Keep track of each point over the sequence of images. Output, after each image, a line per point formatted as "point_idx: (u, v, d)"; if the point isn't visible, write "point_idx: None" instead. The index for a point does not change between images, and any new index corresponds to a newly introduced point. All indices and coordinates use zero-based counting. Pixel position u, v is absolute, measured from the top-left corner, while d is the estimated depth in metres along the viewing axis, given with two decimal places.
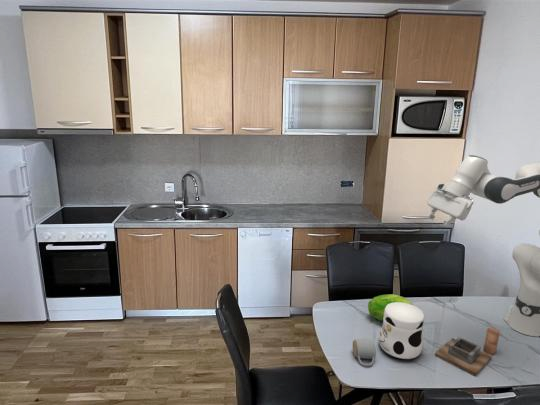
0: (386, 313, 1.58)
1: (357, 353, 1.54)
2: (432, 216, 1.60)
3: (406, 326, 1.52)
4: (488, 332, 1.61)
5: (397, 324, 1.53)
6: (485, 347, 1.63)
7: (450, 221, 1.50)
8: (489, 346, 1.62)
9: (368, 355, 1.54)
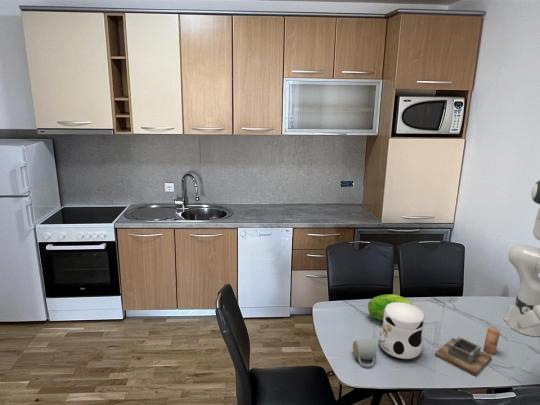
0: (386, 313, 1.58)
1: (357, 354, 1.54)
2: None
3: (406, 326, 1.52)
4: (488, 332, 1.61)
5: (397, 324, 1.53)
6: (485, 347, 1.63)
7: None
8: (489, 346, 1.62)
9: (368, 356, 1.54)
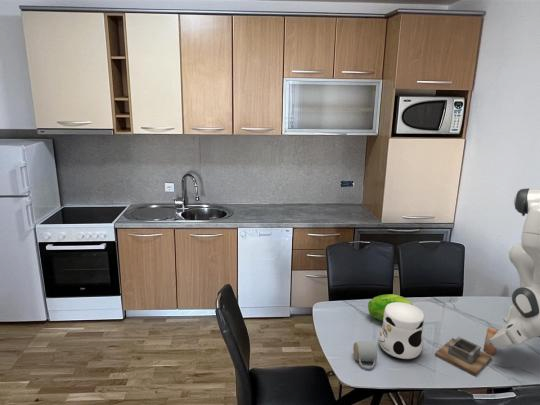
0: (386, 313, 1.58)
1: (358, 356, 1.53)
2: None
3: (406, 326, 1.52)
4: (488, 332, 1.61)
5: (397, 324, 1.53)
6: (485, 347, 1.63)
7: None
8: (489, 346, 1.62)
9: (369, 358, 1.52)
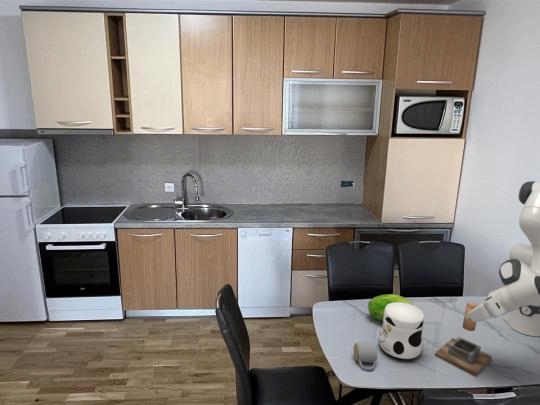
0: (386, 313, 1.58)
1: (358, 357, 1.52)
2: None
3: (406, 326, 1.52)
4: (467, 307, 1.53)
5: (397, 324, 1.53)
6: (464, 323, 1.55)
7: None
8: (468, 322, 1.53)
9: (369, 359, 1.52)
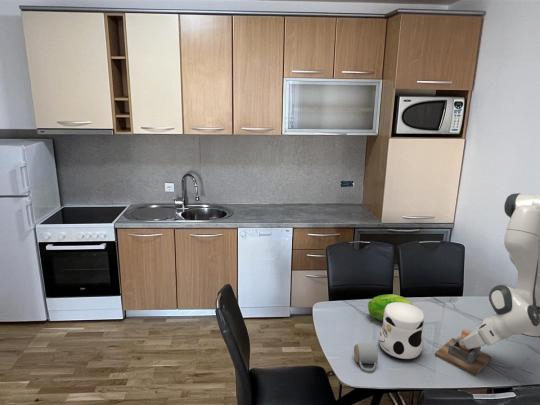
0: (386, 313, 1.58)
1: (358, 358, 1.51)
2: None
3: (406, 326, 1.52)
4: (462, 334, 1.57)
5: (397, 324, 1.53)
6: None
7: None
8: (463, 349, 1.57)
9: (370, 360, 1.51)
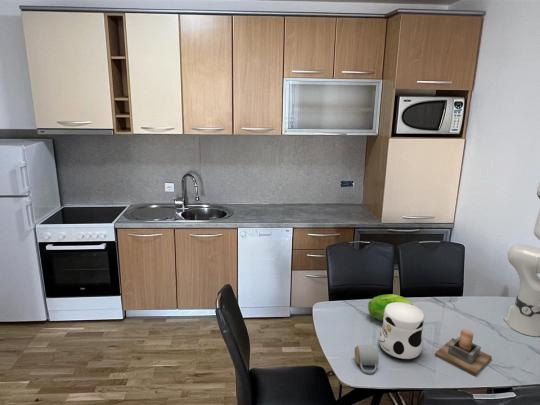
0: (386, 313, 1.58)
1: (359, 360, 1.50)
2: None
3: (406, 326, 1.52)
4: (461, 334, 1.56)
5: (397, 324, 1.53)
6: None
7: None
8: (463, 349, 1.57)
9: (370, 362, 1.50)
